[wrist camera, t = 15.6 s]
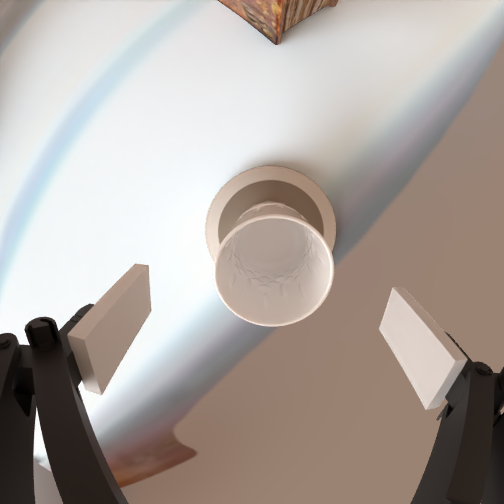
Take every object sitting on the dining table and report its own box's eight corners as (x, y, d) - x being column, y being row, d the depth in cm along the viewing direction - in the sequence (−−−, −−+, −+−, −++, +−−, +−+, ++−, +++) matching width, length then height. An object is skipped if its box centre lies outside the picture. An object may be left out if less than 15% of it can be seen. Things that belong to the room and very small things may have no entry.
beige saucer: (186, 199, 28) (182, 201, 27) (304, 146, 26) (306, 145, 25) (240, 303, 32) (239, 310, 30) (348, 259, 30) (352, 265, 28)
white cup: (266, 286, 29) (268, 344, 20) (213, 232, 28) (188, 270, 18) (326, 237, 27) (356, 278, 18) (273, 177, 26) (280, 187, 16)
